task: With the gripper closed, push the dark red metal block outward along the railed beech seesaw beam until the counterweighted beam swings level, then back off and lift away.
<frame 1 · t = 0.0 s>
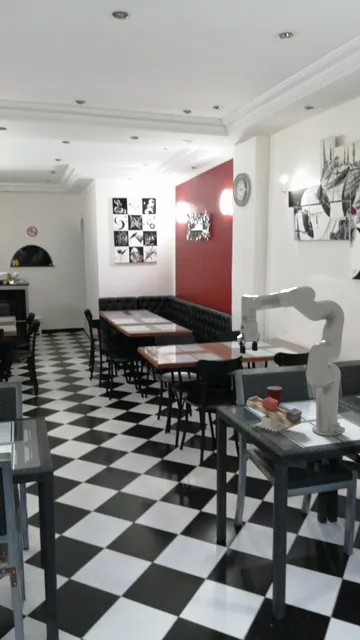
hand: (248, 352, 263), 31 cm above the table, tool pointing down, fingers open, 9 cm apart
mug: (273, 407, 273), on the table
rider: (269, 409, 243), point 8 cm above the table, tilted 12°, touching beam
beam: (273, 408, 241), point 9 cm above the table, hinge at -11.9°, touching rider
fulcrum: (272, 426, 243), on the table
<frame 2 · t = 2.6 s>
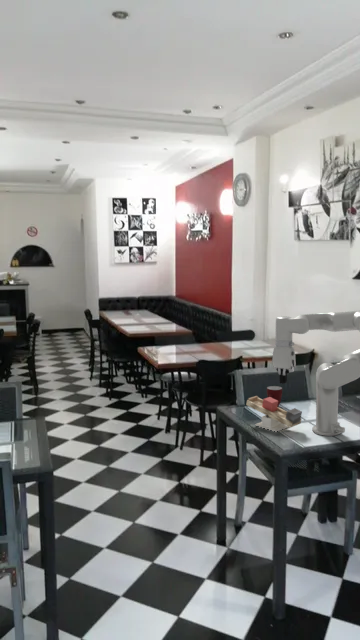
hand: (283, 382, 235), 22 cm above the table, tool pointing down, fingers closed
nothing on the table moved.
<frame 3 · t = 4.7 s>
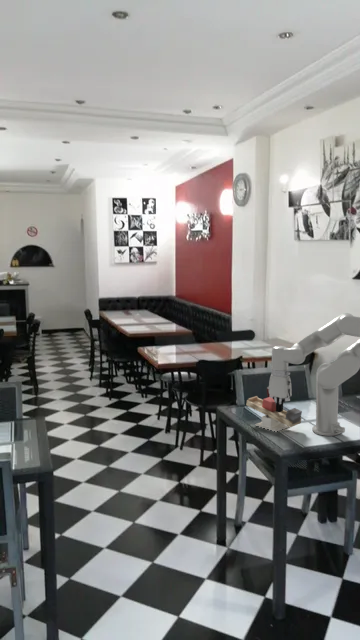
hand: (279, 411, 239), 8 cm above the table, tool pointing down, fingers closed
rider: (269, 409, 243), point 8 cm above the table, tilted 11°, touching beam, gripper
beam: (273, 408, 241), point 9 cm above the table, hinge at -11.3°, touching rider
everything else where it was.
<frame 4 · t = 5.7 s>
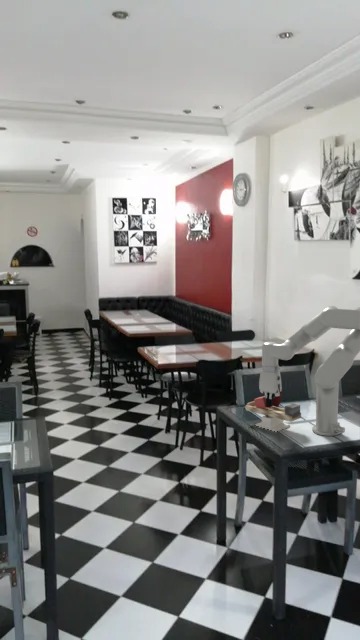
hand: (269, 406, 242), 9 cm above the table, tool pointing down, fingers closed
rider: (263, 407, 245), point 8 cm above the table, tilted 19°, touching beam, gripper
beam: (272, 408, 241), point 9 cm above the table, hinge at 0.3°, touching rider
everything else where it was.
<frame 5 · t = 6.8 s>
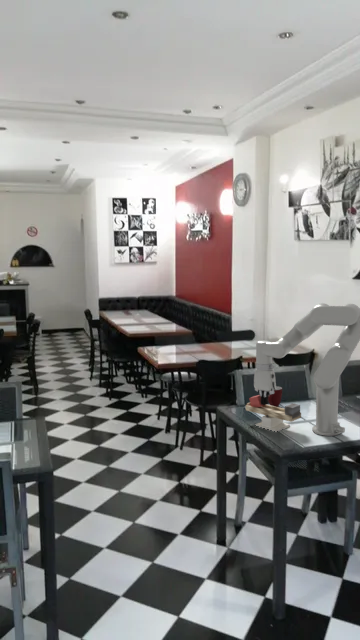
hand: (264, 404, 245), 10 cm above the table, tool pointing down, fingers closed
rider: (259, 406, 247), point 8 cm above the table, tilted 20°, touching beam, gripper
everything else where it was.
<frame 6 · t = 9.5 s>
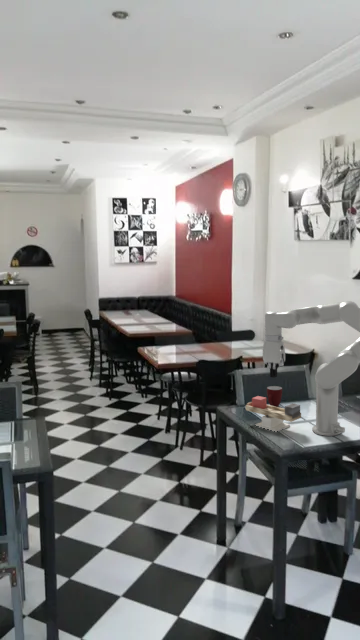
hand: (273, 376, 239), 24 cm above the table, tool pointing down, fingers closed
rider: (259, 408, 247), point 7 cm above the table, touching beam
everything else where it was.
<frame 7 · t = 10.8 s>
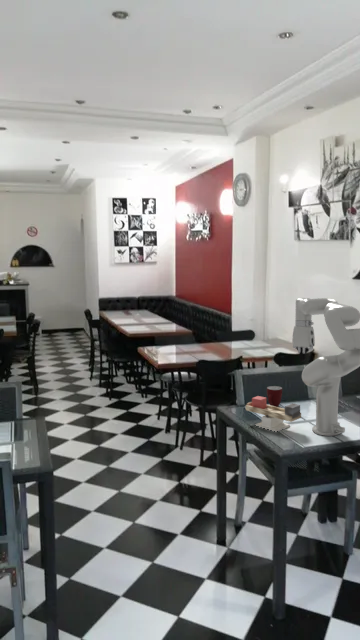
hand: (302, 360, 249), 29 cm above the table, tool pointing down, fingers closed
nothing on the table moved.
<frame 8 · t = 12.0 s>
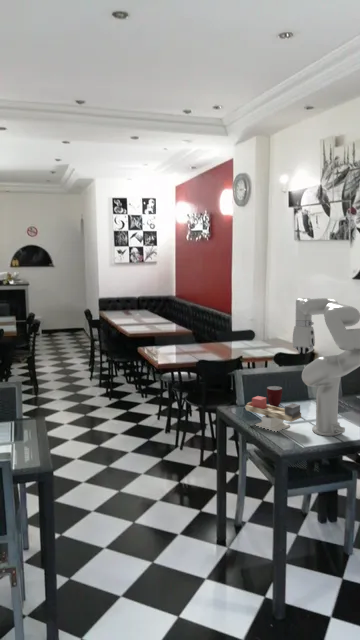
hand: (302, 360, 249), 29 cm above the table, tool pointing down, fingers closed
nothing on the table moved.
at the end: beam at +0° (first picture: -12°); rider 1.6 cm from the target spot on the beam, point 1.3 cm above the beam's base; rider touching beam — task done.
